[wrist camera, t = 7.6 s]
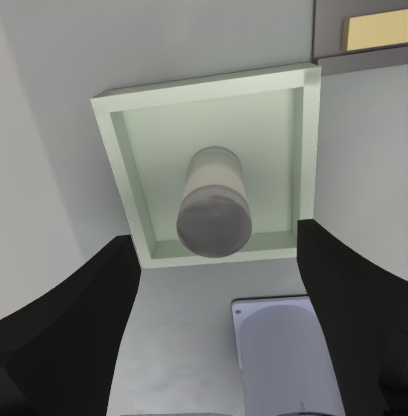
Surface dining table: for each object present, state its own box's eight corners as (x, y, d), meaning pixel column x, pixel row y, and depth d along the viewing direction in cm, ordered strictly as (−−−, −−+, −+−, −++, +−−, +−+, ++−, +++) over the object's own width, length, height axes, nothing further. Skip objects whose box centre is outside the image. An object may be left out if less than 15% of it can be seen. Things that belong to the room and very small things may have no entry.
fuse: (242, 194, 20) (252, 256, 15) (191, 197, 20) (181, 259, 15) (241, 144, 18) (251, 192, 13) (184, 148, 19) (170, 197, 13)
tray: (302, 234, 22) (311, 256, 20) (149, 247, 23) (142, 269, 21) (307, 62, 16) (321, 66, 14) (105, 90, 18) (90, 98, 16)
